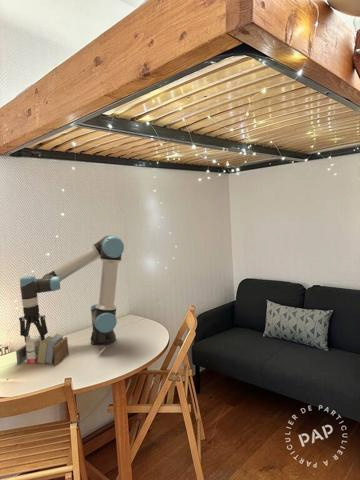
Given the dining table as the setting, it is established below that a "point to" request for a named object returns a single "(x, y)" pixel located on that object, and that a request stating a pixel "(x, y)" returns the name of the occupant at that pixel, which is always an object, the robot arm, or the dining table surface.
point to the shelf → (60, 350)
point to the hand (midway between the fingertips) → (35, 347)
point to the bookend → (21, 354)
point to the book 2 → (50, 350)
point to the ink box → (32, 350)
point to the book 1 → (43, 350)
